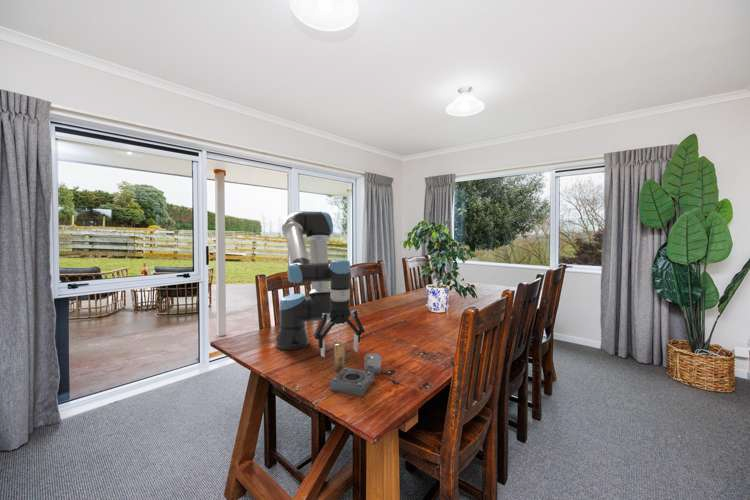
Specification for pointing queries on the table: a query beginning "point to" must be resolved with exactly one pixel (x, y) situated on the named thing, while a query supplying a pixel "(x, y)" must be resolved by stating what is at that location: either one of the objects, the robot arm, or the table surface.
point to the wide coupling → (373, 363)
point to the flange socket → (352, 381)
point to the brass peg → (339, 356)
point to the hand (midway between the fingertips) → (339, 353)
